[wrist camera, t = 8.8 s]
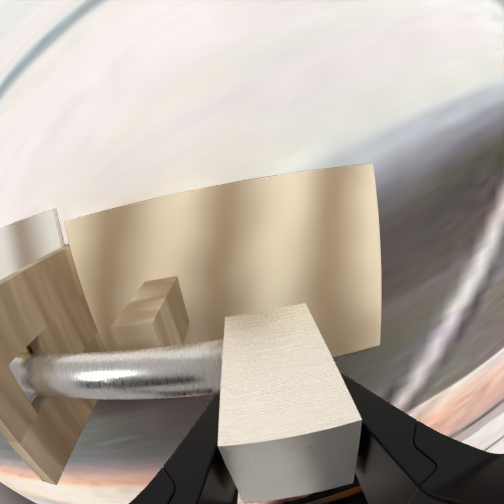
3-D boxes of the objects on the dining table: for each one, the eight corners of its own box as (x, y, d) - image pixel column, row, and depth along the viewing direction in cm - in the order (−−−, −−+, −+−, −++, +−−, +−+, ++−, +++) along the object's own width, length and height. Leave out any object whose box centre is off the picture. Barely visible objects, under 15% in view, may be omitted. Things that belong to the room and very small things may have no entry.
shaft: (305, 302, 11) (362, 419, 5) (311, 365, 12) (352, 483, 6) (-43, 338, 11) (-95, 384, 5) (-23, 377, 12) (-68, 428, 6)
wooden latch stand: (363, 147, 16) (514, 134, 5) (374, 348, 20) (451, 463, 9) (-22, 237, 16) (-123, 283, 5) (37, 384, 20) (-22, 468, 9)
